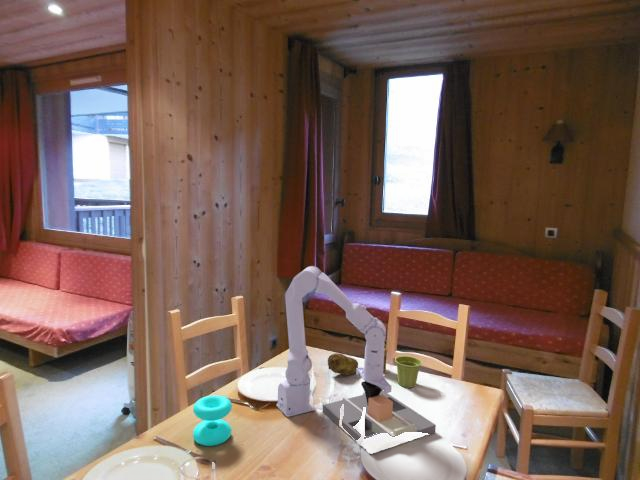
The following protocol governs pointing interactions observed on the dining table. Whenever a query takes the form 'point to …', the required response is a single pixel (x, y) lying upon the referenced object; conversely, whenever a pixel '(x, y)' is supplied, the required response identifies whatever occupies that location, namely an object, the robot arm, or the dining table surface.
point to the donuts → (212, 420)
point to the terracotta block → (380, 408)
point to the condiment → (385, 359)
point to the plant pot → (407, 370)
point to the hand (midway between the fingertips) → (371, 405)
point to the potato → (342, 364)
